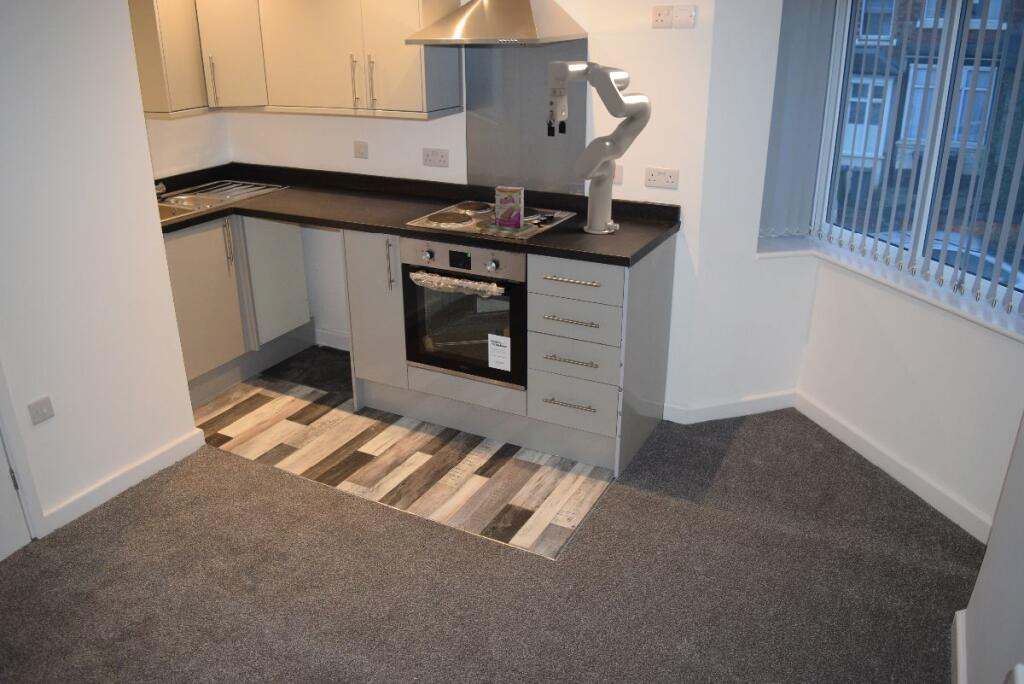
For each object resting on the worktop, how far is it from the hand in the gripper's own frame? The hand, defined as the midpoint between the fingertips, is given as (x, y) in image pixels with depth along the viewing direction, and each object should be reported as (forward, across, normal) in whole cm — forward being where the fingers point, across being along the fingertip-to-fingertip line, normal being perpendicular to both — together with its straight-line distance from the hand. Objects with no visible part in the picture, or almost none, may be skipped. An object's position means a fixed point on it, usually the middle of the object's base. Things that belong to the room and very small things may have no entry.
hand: (556, 134), depth 345 cm
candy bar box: (+34, -29, +6) cm, 45 cm away
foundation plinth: (+36, -29, +6) cm, 47 cm away
